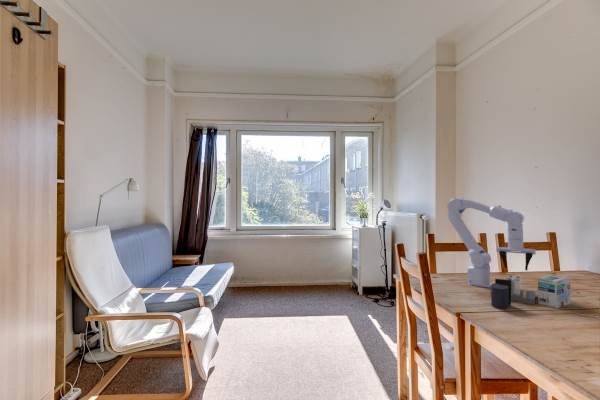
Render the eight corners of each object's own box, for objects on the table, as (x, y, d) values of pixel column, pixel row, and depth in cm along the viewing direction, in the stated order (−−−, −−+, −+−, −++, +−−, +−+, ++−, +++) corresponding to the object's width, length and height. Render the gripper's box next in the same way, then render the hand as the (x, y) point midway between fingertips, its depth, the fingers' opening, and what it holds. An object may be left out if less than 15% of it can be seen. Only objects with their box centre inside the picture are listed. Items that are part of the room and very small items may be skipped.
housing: (508, 289, 138) (507, 274, 138) (521, 291, 135) (520, 276, 135) (506, 294, 132) (506, 278, 132) (520, 295, 129) (519, 280, 129)
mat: (501, 292, 142) (501, 291, 142) (503, 287, 150) (503, 286, 150) (547, 298, 133) (547, 297, 133) (547, 293, 140) (546, 292, 140)
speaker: (494, 301, 129) (495, 276, 128) (511, 305, 125) (511, 279, 124) (488, 307, 124) (488, 282, 123) (505, 312, 120) (506, 285, 119)
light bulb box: (557, 309, 120) (557, 280, 120) (537, 304, 126) (537, 277, 126) (571, 304, 125) (571, 277, 125) (551, 300, 131) (551, 273, 131)
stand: (492, 299, 133) (492, 290, 133) (496, 292, 143) (496, 284, 143) (534, 305, 125) (534, 296, 125) (535, 297, 134) (535, 289, 134)
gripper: (495, 238, 145) (496, 268, 145) (535, 240, 137) (535, 272, 137) (497, 237, 151) (497, 266, 151) (535, 239, 142) (536, 269, 142)
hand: (515, 269), depth 144 cm, fingers open, 7 cm apart
